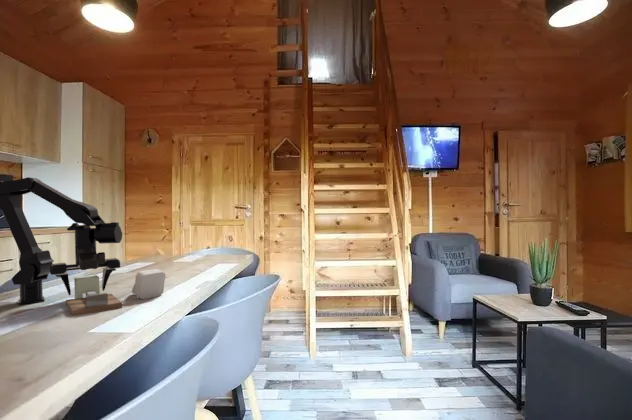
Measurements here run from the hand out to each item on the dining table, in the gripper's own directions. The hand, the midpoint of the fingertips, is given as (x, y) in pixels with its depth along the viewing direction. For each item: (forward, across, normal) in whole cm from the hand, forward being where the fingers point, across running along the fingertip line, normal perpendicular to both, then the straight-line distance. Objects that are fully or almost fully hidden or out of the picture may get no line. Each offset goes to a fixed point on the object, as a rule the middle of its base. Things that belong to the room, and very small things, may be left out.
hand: (86, 292), depth 118 cm
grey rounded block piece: (+2, +15, -9) cm, 18 cm away
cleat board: (+2, 0, -13) cm, 13 cm away
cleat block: (+2, 0, 0) cm, 2 cm away
